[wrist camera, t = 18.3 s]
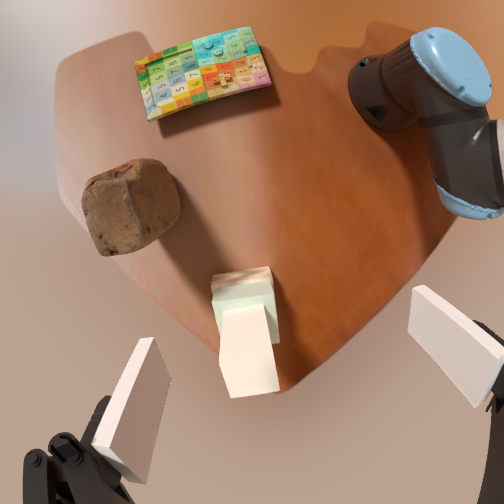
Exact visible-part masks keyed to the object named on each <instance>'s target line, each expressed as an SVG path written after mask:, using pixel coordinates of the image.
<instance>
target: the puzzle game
mask: <svg viewBox="0 0 504 504" xmlns="http://www.w3.org/2000/svg"><path fill="white" fill-rule="evenodd" d="M134 63H135V68H136V73H137V77H138V82H139V86H140V90H141V94H142V98H143V102H144V107H145V110H146V114H147V118H148V121H150V122H151V121H154V120H157V119H159V118H162V117H164V116H167V115H170V114H172V113H175V112H178V111H181V110H184V109H186V108H189V107H192V106H195V105H198V104H202V103H205V102H208V101H211V100H215V99H218V98H222V97H225V96H229V95H233V94H236V93H240V92H244V91H248V90H253V89H257V88H262V87H266V86H271V84H272V82H271V79H270V76H269V73H268V71H267V68H266V65H265V62H264V59H263V57H262V54H261V51H260V48H259V46H258V43H257V41H256V38H255V35H254V33H253V30H252V28H251V27H244V28H238V29H234V30H229V31H225V32H221V33H217V34H213V35H209V36H206V37H202V38H199V39H196V40H192V41H189V42H186V43H183V44H180V45H177V46H174V47H171V48H169V49H166V50H163V51H161V52H158V53H155V54H153V55H150V56H148V57H146V58H143V59H141V60H139V61H136V62H134Z"/></svg>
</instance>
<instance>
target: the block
mask: <svg viewBox="0 0 504 504" xmlns="http://www.w3.org/2000/svg"><path fill="white" fill-rule="evenodd" d="M81 203H82V209H83V212H84V215H85V218H86V224H87V226H88V229H89V232H90V235H91V237H92V239H93V241H94V243H95V246H96V248H97V250H98V251H99V253H100V254H101V255H102V256H114V255H122V254H128V253H131V252H135V251H138V250H140V249H142V248H144V247H146V246H148V245H149V244H151V243H152V242H153V241H155V240H156V239H157V238H159V237H160V236H161V235H162V234H163V233H165V232H166V231H167V230H168V229H170V228H171V227H172V226H173V225H174V224H175V223H176V222H177V221H178V219H179V217H180V210H181V202H180V197H179V194H178V190H177V188H176V185H175V183H174V181H173V180H172V177H171V175H170V173H169V172H168V170H167V168H166V167H165V166H164V165H163V163H162V162H160V161H158V160H154V159H146V158H141V159H134V160H131V161H129V162H127V163H124V164H122V165H120V166H118V167H116V168H114V169H112V170H109V171H106V172H103V173H101V174H98V175H96V176H94V177H92V178H91V179H89V180H88V181H87V182H86V187H85V190H84V192H83V195H82V200H81Z"/></svg>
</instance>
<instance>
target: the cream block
mask: <svg viewBox="0 0 504 504" xmlns="http://www.w3.org/2000/svg"><path fill="white" fill-rule="evenodd" d="M219 365H220V368H221V371H222V374H223V376H224V380H225V382H226V385H227V388H228V391H229V394H230V397H231V398H237V397H244V396H251V395H257V394H263V393H270V392H275V391H280V388H279V383H278V377H277V372H276V366H275V361H274V355H273V350H272V345H271V340H270V335H269V330H268V325H267V320H266V315H265V310H264V305H263V304H262V305H256V306H251V307H245V308H239V309H234V310H228V311H223V318H222V330H221V342H220V355H219Z"/></svg>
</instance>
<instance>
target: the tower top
mask: <svg viewBox="0 0 504 504" xmlns="http://www.w3.org/2000/svg"><path fill="white" fill-rule="evenodd" d="M262 304H263V305H264V310H265V315H266V320H267V325H268V330H269V335H270V340H271V344H276V343H280V338H279V331H278V323H277V315H276V308H275V300H274V293H273V289H272V286H271V283H270V280H265V281H259V282H253V283H247V284H241V285H234V286H228V287H221V288H214V293H213V299H212V305H213V309H214V313H215V318H216V322H217V326H218V330H219V333H220V337H221V330H222V318H223V311H228V310H234V309H239V308H245V307H251V306H256V305H262Z"/></svg>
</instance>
